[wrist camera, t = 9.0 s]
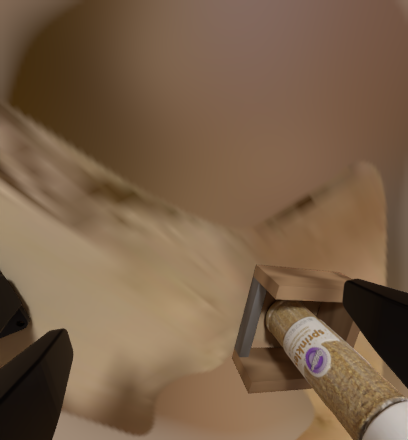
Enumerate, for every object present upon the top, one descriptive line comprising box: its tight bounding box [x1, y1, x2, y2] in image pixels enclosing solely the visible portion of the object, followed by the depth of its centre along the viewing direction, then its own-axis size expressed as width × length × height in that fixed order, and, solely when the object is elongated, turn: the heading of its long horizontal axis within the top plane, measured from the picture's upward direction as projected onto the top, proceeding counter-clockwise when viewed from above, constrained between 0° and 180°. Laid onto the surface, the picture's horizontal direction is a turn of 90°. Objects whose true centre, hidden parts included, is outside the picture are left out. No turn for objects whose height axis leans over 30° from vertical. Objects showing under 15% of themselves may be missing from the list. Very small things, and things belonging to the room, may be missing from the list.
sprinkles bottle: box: [266, 299, 408, 440], centre depth 19 cm, size 5×5×13 cm
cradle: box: [232, 265, 360, 393], centre depth 24 cm, size 10×10×4 cm
